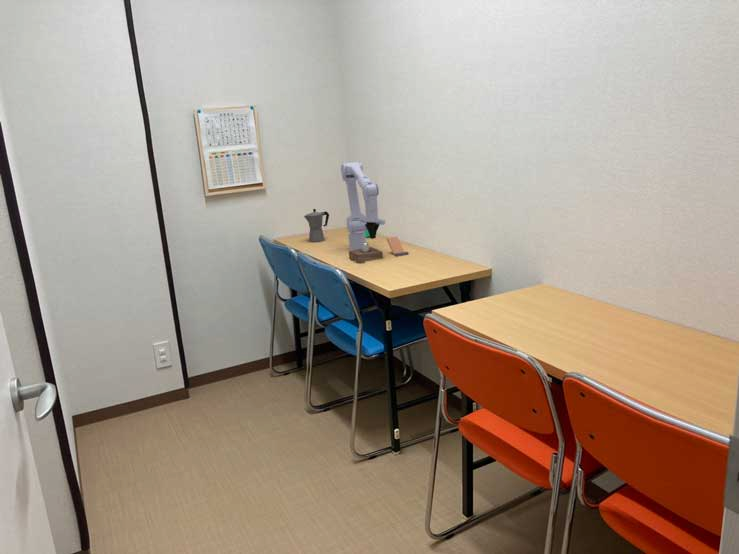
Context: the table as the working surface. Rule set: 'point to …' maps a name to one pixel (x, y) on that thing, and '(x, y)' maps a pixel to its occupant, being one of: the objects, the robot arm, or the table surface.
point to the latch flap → (395, 245)
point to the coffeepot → (316, 225)
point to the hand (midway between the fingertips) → (373, 238)
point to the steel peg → (365, 247)
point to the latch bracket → (401, 254)
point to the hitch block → (365, 255)
